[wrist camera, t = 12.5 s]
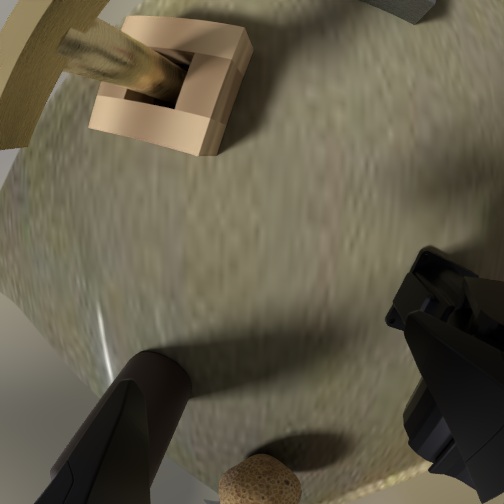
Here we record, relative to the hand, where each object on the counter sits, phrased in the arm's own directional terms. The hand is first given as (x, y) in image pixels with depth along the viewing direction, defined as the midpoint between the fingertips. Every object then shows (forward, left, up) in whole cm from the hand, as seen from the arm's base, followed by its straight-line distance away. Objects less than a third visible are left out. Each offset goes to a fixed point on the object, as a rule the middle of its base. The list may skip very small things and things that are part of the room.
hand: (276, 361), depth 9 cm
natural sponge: (-8, +25, -13) cm, 29 cm away
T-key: (+10, -8, -13) cm, 18 cm away
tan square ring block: (+10, -8, -13) cm, 18 cm away
